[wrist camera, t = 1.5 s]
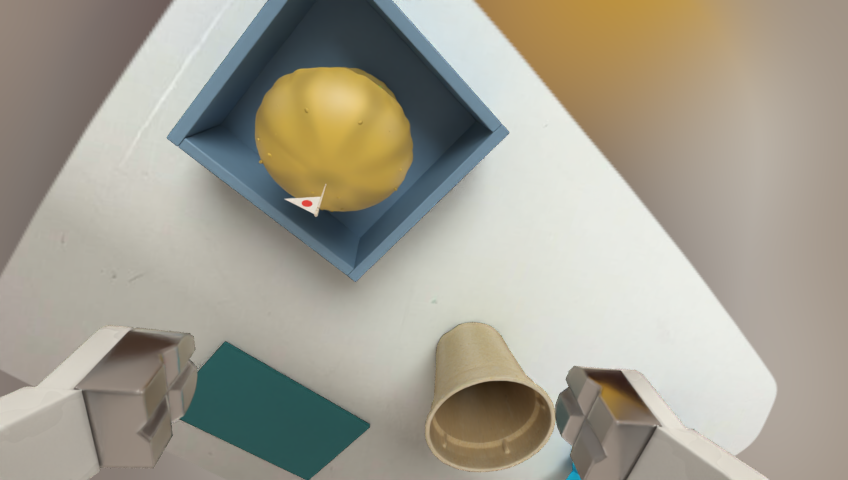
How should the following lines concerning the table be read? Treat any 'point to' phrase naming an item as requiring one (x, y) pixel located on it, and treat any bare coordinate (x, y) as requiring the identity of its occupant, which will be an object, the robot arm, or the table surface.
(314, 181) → the hamburger
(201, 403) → the felt mat
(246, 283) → the table surface
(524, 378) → the flower pot
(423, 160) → the toy box
